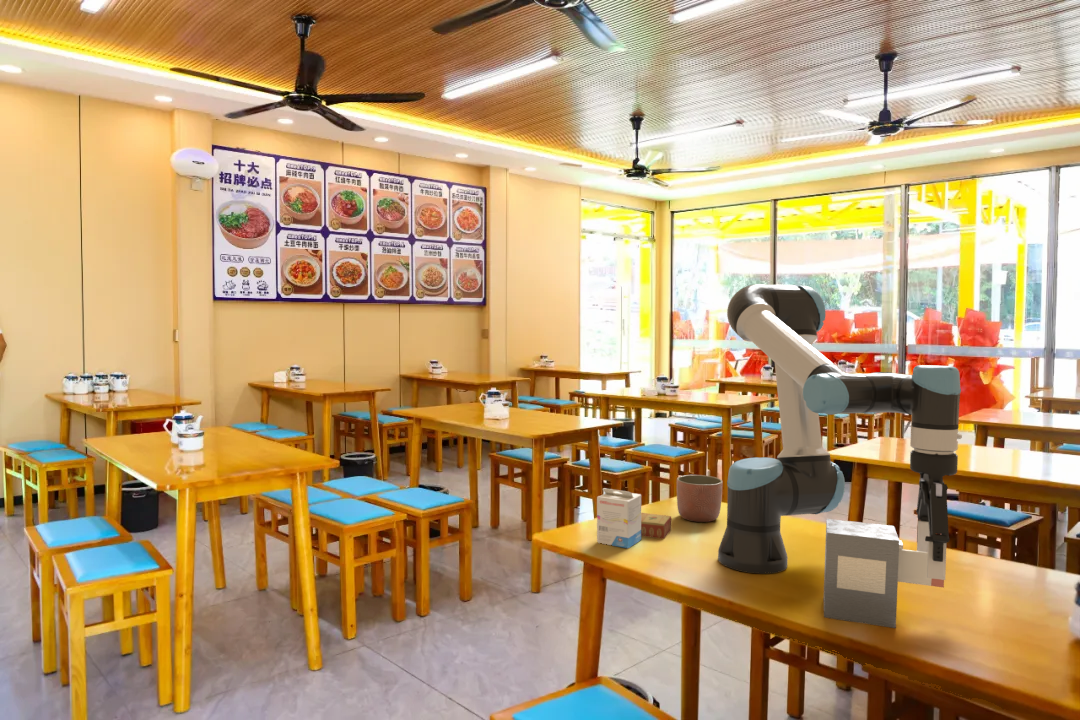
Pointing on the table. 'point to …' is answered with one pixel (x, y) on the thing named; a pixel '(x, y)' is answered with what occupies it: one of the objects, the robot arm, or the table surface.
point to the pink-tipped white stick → (915, 568)
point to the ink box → (618, 518)
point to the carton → (655, 525)
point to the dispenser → (861, 572)
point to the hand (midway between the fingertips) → (930, 566)
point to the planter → (699, 497)
